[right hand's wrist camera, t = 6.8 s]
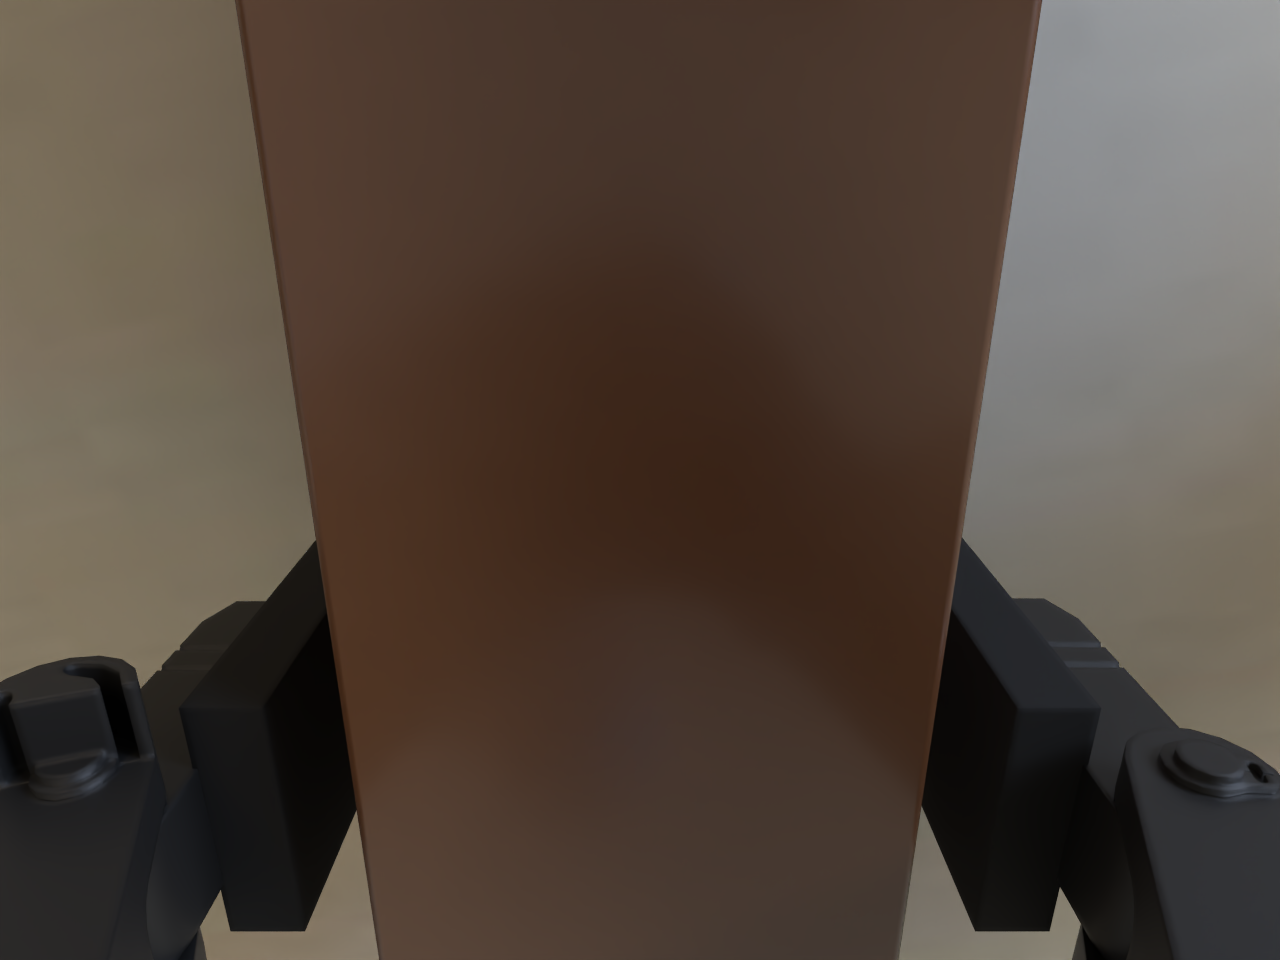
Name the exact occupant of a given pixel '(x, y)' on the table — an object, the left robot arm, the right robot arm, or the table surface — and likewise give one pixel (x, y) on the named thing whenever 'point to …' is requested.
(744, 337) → the walnut beam
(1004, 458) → the table surface
